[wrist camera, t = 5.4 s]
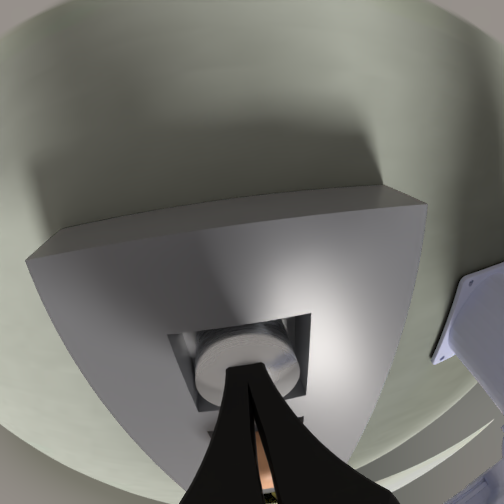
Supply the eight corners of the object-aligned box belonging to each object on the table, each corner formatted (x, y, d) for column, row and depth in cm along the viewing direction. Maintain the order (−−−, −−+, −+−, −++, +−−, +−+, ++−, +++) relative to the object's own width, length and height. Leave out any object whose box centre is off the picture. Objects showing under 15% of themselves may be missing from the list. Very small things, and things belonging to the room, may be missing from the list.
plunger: (284, 297, 11) (301, 335, 9) (286, 362, 13) (298, 399, 11) (186, 311, 11) (183, 353, 9) (205, 374, 13) (207, 414, 11)
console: (383, 184, 11) (427, 203, 8) (331, 453, 22) (339, 475, 20) (60, 229, 10) (25, 260, 7) (194, 475, 21) (196, 499, 18)
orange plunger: (294, 423, 13) (306, 461, 10) (293, 451, 14) (301, 481, 12) (218, 436, 12) (222, 474, 10) (230, 461, 14) (234, 492, 12)
